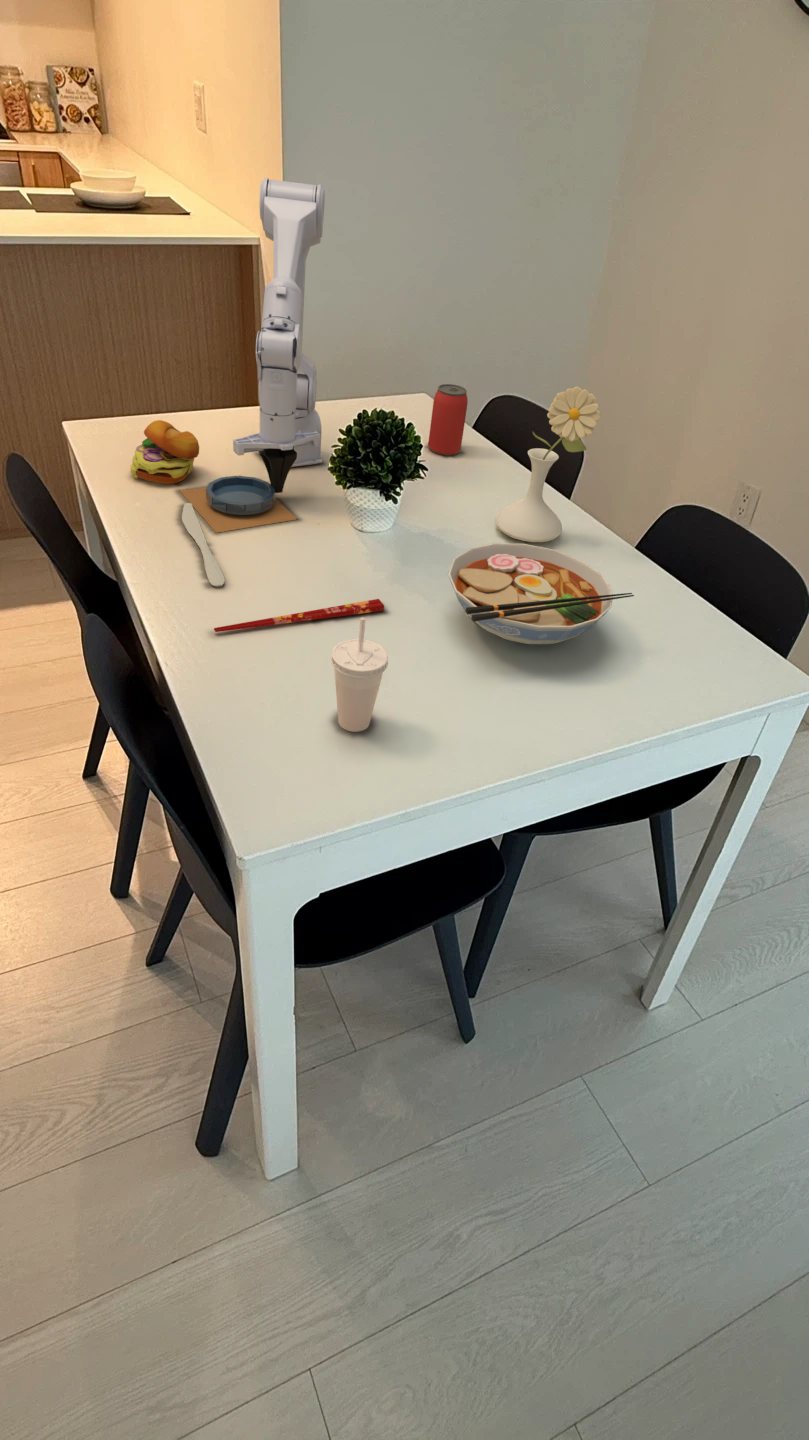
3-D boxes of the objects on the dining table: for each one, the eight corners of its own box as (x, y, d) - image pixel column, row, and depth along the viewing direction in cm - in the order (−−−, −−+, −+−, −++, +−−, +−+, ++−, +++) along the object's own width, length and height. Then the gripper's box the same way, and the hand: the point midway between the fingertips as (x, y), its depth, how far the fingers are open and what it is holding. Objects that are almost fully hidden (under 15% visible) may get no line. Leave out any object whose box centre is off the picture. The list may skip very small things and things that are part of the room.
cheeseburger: (123, 464, 151) (132, 408, 146) (183, 474, 157) (194, 420, 152) (135, 488, 144) (145, 429, 139) (198, 497, 150) (209, 441, 145)
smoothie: (380, 706, 105) (391, 608, 96) (381, 741, 100) (393, 639, 92) (327, 703, 105) (334, 603, 96) (325, 737, 100) (332, 635, 91)
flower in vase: (486, 538, 144) (513, 385, 128) (502, 512, 152) (529, 365, 137) (562, 557, 141) (600, 403, 126) (574, 529, 150) (611, 382, 134)
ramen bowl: (558, 579, 135) (569, 531, 130) (638, 661, 119) (655, 610, 114) (409, 594, 127) (416, 544, 122) (474, 686, 111) (485, 632, 106)
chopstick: (212, 630, 114) (212, 624, 113) (378, 603, 124) (379, 598, 123) (217, 638, 113) (217, 632, 112) (384, 611, 122) (384, 605, 122)
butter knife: (205, 585, 122) (226, 582, 122) (176, 503, 141) (195, 501, 142) (205, 588, 122) (226, 586, 123) (177, 507, 141) (195, 505, 142)
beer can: (466, 450, 173) (475, 389, 166) (450, 459, 169) (459, 397, 161) (438, 440, 176) (446, 380, 168) (421, 449, 171) (428, 387, 164)
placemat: (257, 480, 152) (257, 480, 152) (297, 519, 142) (297, 519, 142) (179, 491, 146) (179, 490, 146) (216, 532, 135) (216, 532, 135)
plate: (259, 486, 150) (259, 472, 149) (285, 513, 143) (285, 499, 141) (197, 494, 145) (197, 480, 144) (221, 522, 138) (220, 508, 137)
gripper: (245, 423, 132) (246, 506, 140) (330, 414, 138) (326, 494, 147) (227, 407, 136) (229, 488, 145) (310, 399, 143) (307, 477, 151)
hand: (276, 490), depth 146 cm, fingers closed
